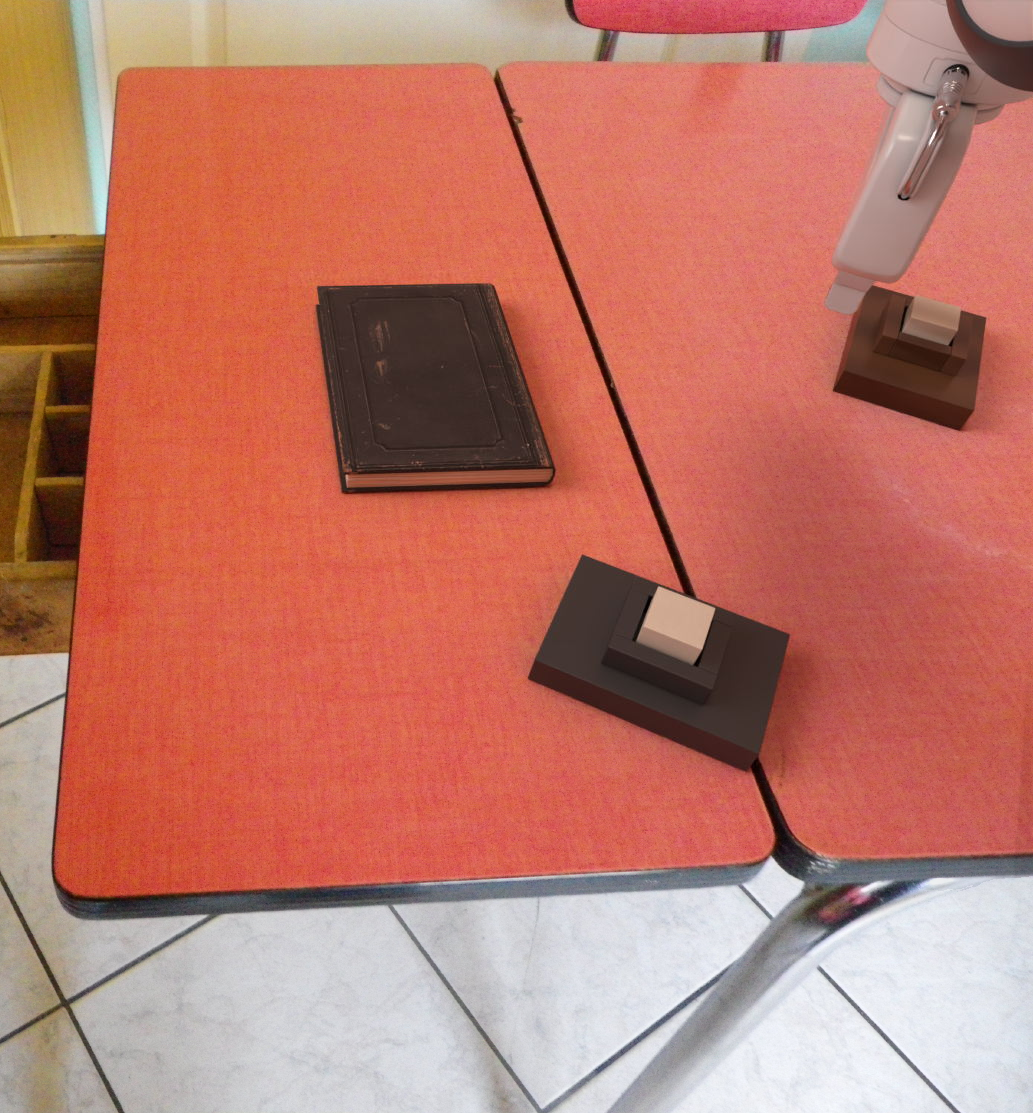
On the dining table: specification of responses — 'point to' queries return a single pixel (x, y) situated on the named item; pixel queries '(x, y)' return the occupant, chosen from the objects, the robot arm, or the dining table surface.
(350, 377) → the hardcover book
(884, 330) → the far block
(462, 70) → the dining table surface
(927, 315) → the far key
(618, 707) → the near block
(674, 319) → the dining table surface
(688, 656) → the near key
